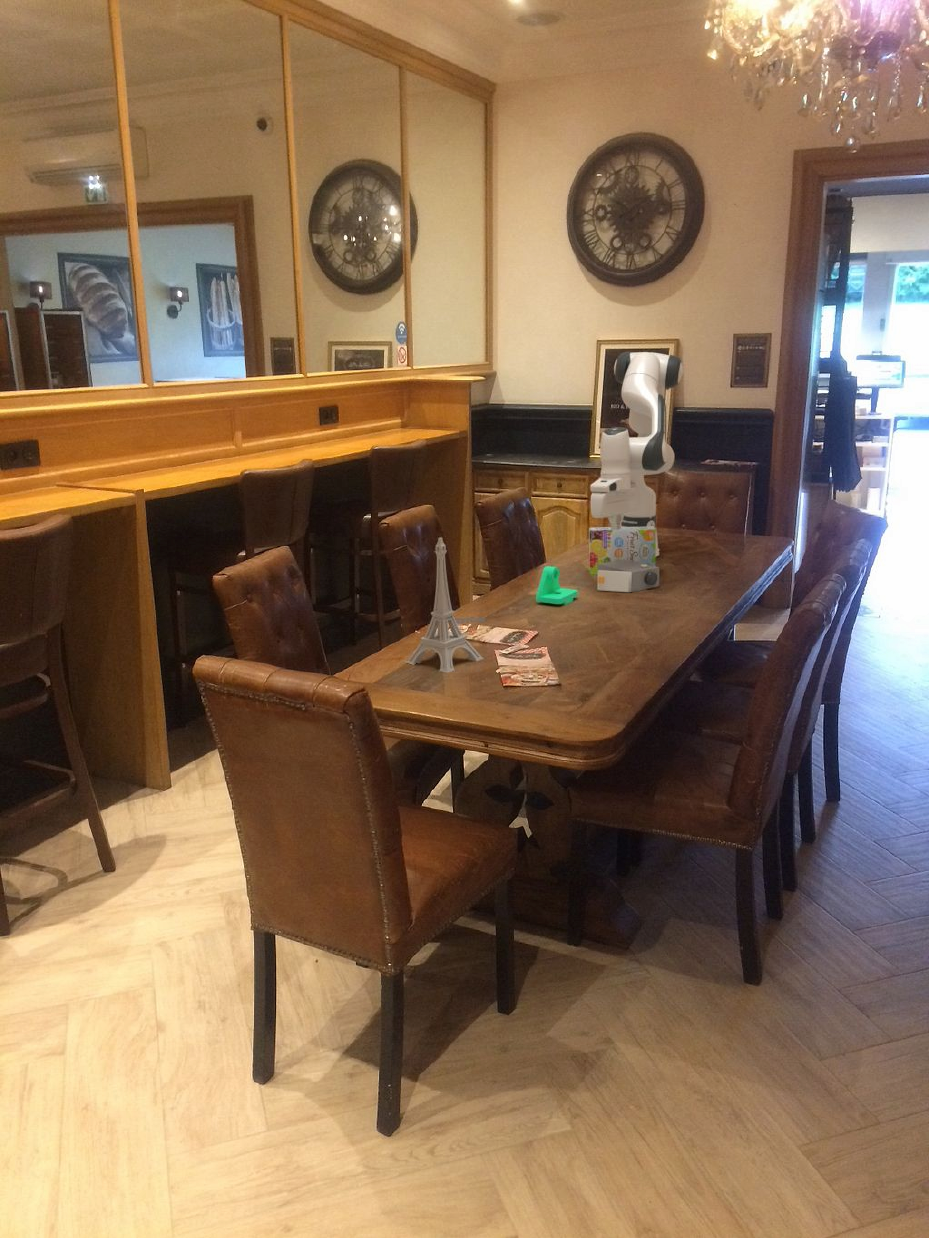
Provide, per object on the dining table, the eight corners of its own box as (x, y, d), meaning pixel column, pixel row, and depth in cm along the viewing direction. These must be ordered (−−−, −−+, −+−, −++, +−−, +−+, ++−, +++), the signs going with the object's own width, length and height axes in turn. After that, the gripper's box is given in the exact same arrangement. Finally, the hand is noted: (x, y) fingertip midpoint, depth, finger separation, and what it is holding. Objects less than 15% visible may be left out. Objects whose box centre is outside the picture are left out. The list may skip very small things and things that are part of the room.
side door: (596, 590, 299) (596, 571, 298) (598, 589, 301) (598, 570, 300) (630, 592, 296) (630, 573, 294) (631, 591, 297) (632, 571, 296)
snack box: (653, 571, 325) (654, 525, 321) (655, 575, 319) (656, 528, 315) (588, 571, 327) (589, 526, 323) (589, 575, 321) (589, 529, 317)
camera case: (597, 582, 311) (597, 561, 309) (623, 577, 316) (624, 556, 315) (635, 592, 297) (635, 570, 295) (662, 587, 302) (662, 565, 300)
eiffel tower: (441, 650, 246) (437, 531, 238) (483, 659, 238) (480, 536, 230) (405, 663, 236) (399, 539, 228) (447, 673, 228) (443, 545, 220)
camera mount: (559, 608, 282) (559, 573, 280) (536, 605, 287) (535, 570, 284) (578, 599, 292) (578, 564, 289) (556, 596, 296) (555, 562, 294)
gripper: (627, 479, 303) (627, 524, 306) (586, 486, 289) (587, 533, 292) (644, 480, 299) (644, 525, 302) (604, 487, 285) (604, 534, 288)
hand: (616, 529), depth 297 cm, fingers closed
